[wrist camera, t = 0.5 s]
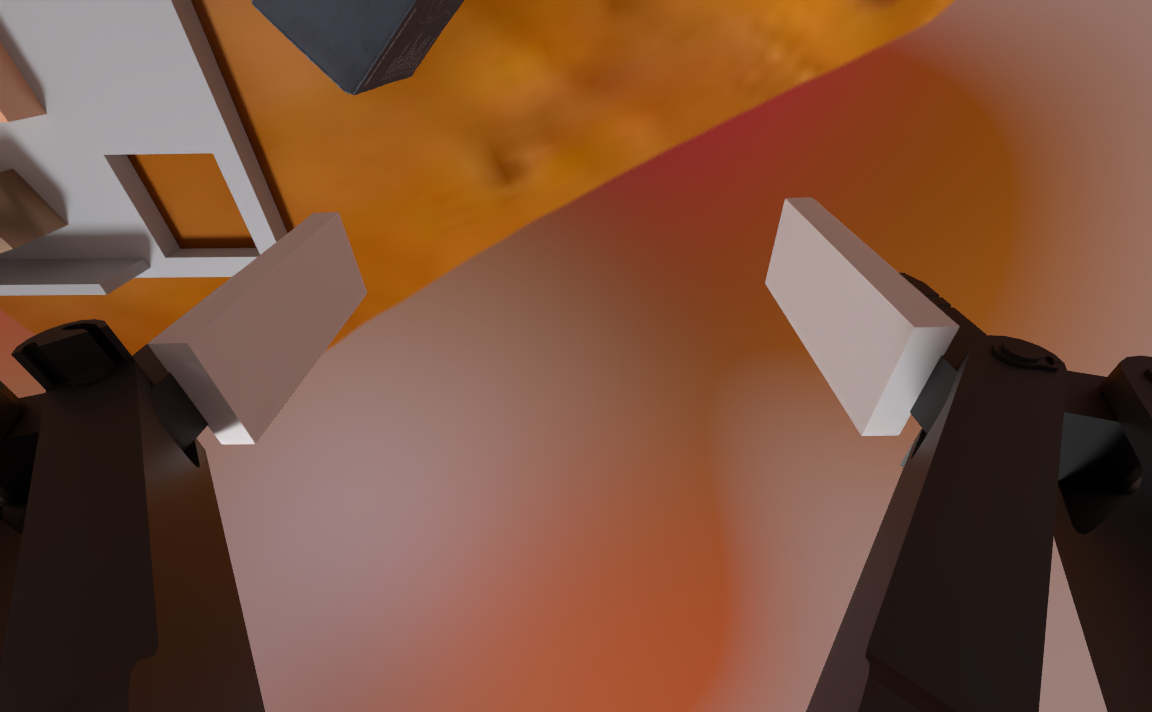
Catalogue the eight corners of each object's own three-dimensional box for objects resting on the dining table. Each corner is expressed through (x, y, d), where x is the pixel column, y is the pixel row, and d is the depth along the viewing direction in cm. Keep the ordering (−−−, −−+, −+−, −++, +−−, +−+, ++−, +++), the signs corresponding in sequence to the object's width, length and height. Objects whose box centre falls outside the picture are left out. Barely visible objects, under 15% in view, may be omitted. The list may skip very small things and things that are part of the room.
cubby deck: (-271, -92, 30) (-463, -113, 25) (147, -104, 30) (47, -129, 24) (23, 269, 46) (-54, 305, 41) (301, 266, 45) (261, 303, 40)
